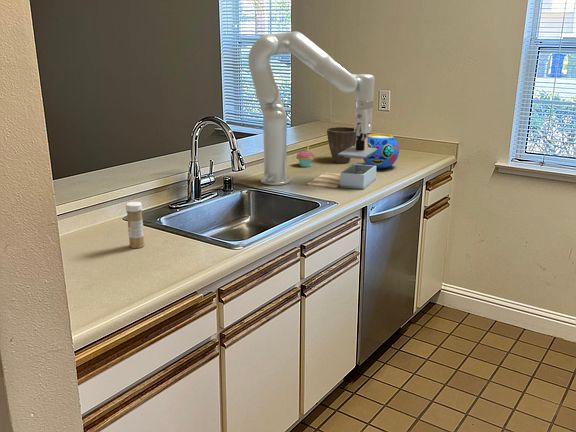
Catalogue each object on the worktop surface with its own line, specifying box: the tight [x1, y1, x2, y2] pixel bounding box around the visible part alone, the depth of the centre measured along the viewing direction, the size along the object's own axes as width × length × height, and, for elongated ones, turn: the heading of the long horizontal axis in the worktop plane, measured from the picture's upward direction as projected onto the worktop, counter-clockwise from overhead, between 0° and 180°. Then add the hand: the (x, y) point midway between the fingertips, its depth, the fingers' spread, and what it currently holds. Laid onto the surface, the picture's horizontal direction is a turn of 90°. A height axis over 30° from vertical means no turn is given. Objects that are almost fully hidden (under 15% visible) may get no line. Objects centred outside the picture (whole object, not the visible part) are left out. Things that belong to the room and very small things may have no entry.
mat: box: [306, 171, 340, 189], centre depth 255 cm, size 22×13×1 cm, turn 156°
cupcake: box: [295, 142, 315, 168], centre depth 279 cm, size 9×8×12 cm
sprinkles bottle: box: [125, 201, 145, 249], centre depth 176 cm, size 5×5×14 cm
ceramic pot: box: [362, 133, 400, 169], centre depth 275 cm, size 18×18×15 cm
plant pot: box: [326, 126, 357, 164], centre depth 286 cm, size 15×15×16 cm
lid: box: [338, 137, 377, 160], centre depth 245 cm, size 19×11×7 cm, turn 156°
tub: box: [339, 163, 377, 190], centre depth 249 cm, size 18×10×6 cm, turn 156°
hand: (361, 148), depth 249 cm, fingers closed on lid, 3 cm apart
